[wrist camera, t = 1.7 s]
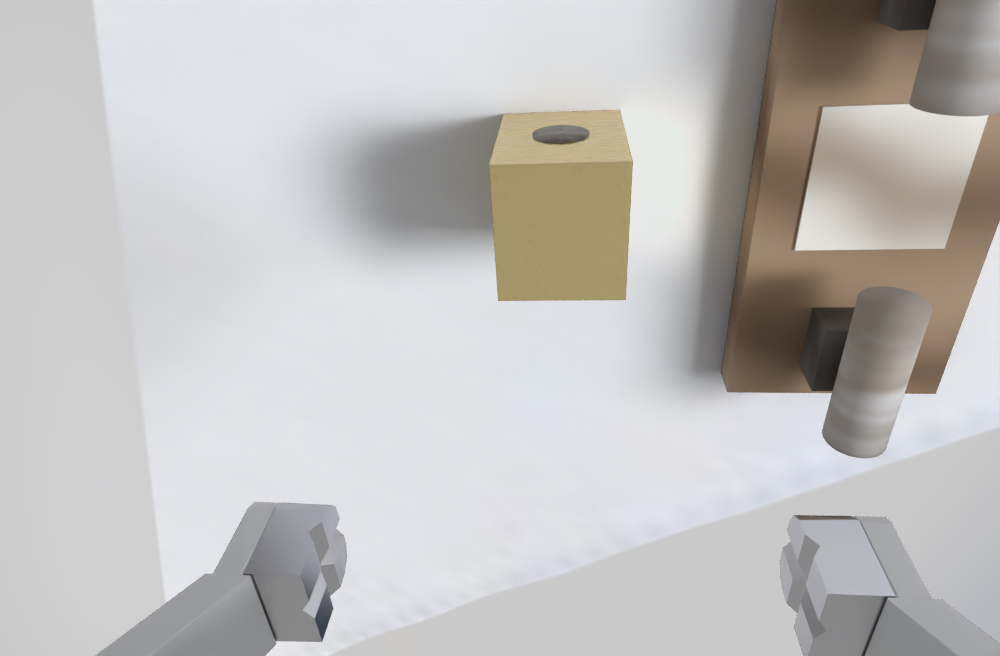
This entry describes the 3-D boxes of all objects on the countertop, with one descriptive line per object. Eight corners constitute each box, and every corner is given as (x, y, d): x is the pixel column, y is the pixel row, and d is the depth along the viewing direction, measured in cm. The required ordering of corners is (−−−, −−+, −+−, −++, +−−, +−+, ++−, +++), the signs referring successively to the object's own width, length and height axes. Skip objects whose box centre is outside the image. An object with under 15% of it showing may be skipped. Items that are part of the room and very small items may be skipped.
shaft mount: (797, -136, 21) (863, -145, 17) (1104, -157, 20) (1268, -172, 16) (721, 372, 32) (748, 456, 27) (920, 373, 31) (984, 460, 26)
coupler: (503, 112, 26) (489, 163, 21) (619, 107, 26) (632, 159, 21) (509, 231, 29) (498, 302, 24) (615, 230, 29) (625, 301, 24)
